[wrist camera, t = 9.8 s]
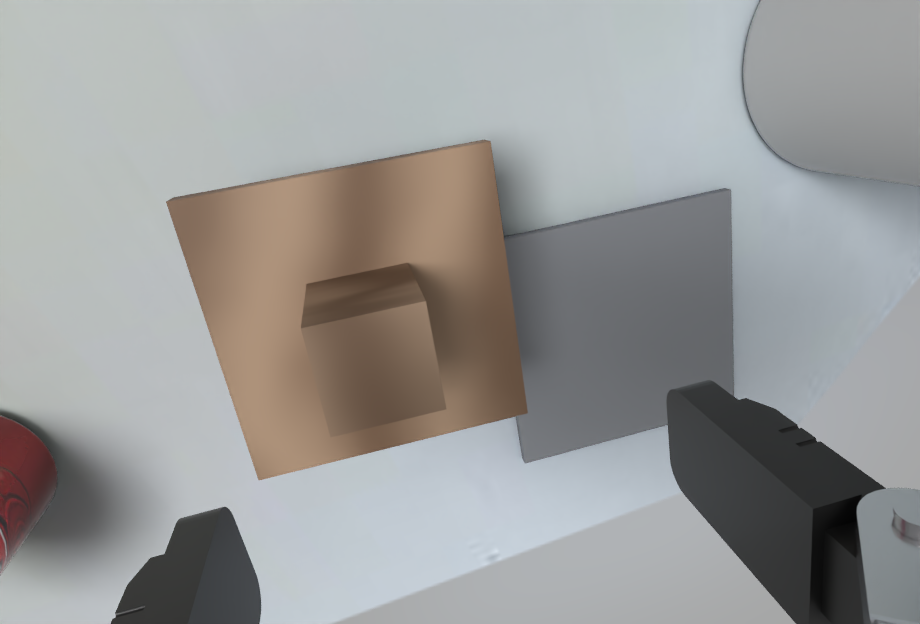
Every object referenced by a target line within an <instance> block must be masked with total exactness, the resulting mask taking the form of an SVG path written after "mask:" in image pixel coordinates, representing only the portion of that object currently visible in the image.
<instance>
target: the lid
mask: <svg viewBox="0 0 920 624" xmlns="http://www.w3.org/2000/svg"><path fill="white" fill-rule="evenodd" d="M166 203H167V206H168V209H169V212H170V215H171V218H172V221H173V224H174V227H175V230H176V233H177V236H178V239H179V242H180V245H181V248H182V251H183V254H184V257H185V260H186V263H187V266H188V269H189V272H190V275H191V278H192V281H193V284H194V287H195V290H196V293H197V296H198V299H199V302H200V305H201V308H202V311H203V314H204V317H205V320H206V323H207V326H208V329H209V332H210V335H211V338H212V341H213V344H214V347H215V350H216V353H217V356H218V359H219V362H220V365H221V368H222V371H223V374H224V377H225V380H226V383H227V386H228V389H229V392H230V395H231V398H232V401H233V404H234V407H235V410H236V413H237V416H238V419H239V422H240V425H241V428H242V431H243V434H244V437H245V440H246V443H247V446H248V449H249V452H250V455H251V459H252V462H253V465H254V468H255V471H256V474H257V477H258V480H262V479H266V478H270V477H274V476H278V475H282V474H286V473H290V472H294V471H298V470H302V469H306V468H310V467H314V466H318V465H322V464H326V463H330V462H334V461H338V460H342V459H346V458H350V457H354V456H358V455H363V454H367V453H371V452H375V451H379V450H383V449H387V448H391V447H395V446H399V445H403V444H407V443H411V442H415V441H419V440H423V439H427V438H431V437H435V436H439V435H443V434H447V433H451V432H455V431H459V430H463V429H467V428H471V427H475V426H479V425H483V424H487V423H491V422H495V421H499V420H503V419H507V418H511V417H515V416H519V415H523V414H527V413H528V410H527V402H526V395H525V388H524V381H523V373H522V366H521V359H520V352H519V344H518V337H517V330H516V323H515V315H514V308H513V301H512V294H511V286H510V279H509V272H508V265H507V257H506V250H505V243H504V236H503V228H502V221H501V214H500V207H499V199H498V192H497V185H496V178H495V170H494V163H493V156H492V149H491V141H487V140H480V141H475V142H469V143H464V144H459V145H453V146H448V147H443V148H437V149H432V150H427V151H421V152H416V153H410V154H405V155H400V156H394V157H389V158H384V159H378V160H373V161H367V162H362V163H357V164H351V165H346V166H341V167H335V168H330V169H325V170H319V171H314V172H308V173H303V174H298V175H292V176H287V177H282V178H276V179H271V180H266V181H260V182H255V183H249V184H244V185H239V186H233V187H228V188H223V189H217V190H212V191H207V192H201V193H196V194H190V195H185V196H180V197H174V198H172V199H170V200H168V201H167V202H166Z"/></svg>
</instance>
